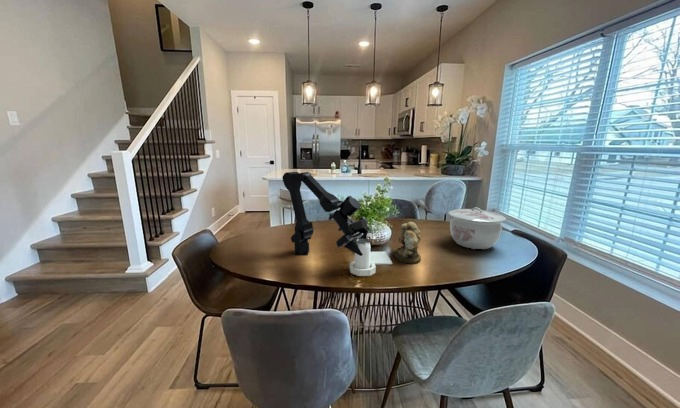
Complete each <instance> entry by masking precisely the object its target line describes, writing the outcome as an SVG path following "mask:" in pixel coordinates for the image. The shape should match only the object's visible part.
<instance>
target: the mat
mask: <svg viewBox="0 0 680 408" xmlns="http://www.w3.org/2000/svg"><path fill="white" fill-rule="evenodd" d="M370 262H373V263H374V264H375V266H376V265H379V266H380V265H393V261H392V260H391V258H390V256H389V254H388V253H387V251H370Z"/></svg>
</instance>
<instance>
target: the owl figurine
mask: <svg viewBox="0 0 680 408" xmlns="http://www.w3.org/2000/svg"><path fill="white" fill-rule="evenodd" d="M397 240H398V242H399V243H400V244H402V245H401V247H399V248H397V249H395V250H394V252H393V256H394V257H395V259H396V260H398V261H399V262H400V263H405V264H407V265H410V264H411V265H416V264H419V263H421V260H422V257H421V256H420V254H419V253H418V252H419V251H418V248H419V243H420V241H421V240H422V238H421V230H420V229H419V228H418V225H417V224H416V223H415V222H413V221H408V222H407V223H406V222H405V223H402V224H401V226H400V231H399V232H398V235H397Z"/></svg>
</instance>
